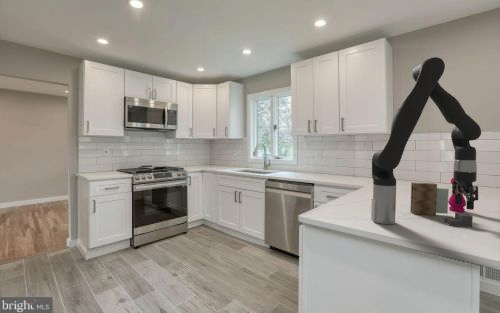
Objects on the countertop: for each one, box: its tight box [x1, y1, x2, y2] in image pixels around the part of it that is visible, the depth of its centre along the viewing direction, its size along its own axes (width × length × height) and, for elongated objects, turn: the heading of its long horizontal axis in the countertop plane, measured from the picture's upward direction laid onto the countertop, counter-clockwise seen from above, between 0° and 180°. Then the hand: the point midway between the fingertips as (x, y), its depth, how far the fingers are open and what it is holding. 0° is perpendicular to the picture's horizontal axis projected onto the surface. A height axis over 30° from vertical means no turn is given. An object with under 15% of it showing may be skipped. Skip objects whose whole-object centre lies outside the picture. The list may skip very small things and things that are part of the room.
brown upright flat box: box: [409, 181, 438, 216], centre depth 123 cm, size 10×4×16 cm, turn 75°
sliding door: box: [436, 187, 449, 215], centre depth 122 cm, size 12×1×12 cm, turn 75°
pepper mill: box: [448, 177, 467, 213], centre depth 128 cm, size 7×7×20 cm
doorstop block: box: [443, 212, 474, 228], centre depth 106 cm, size 8×5×5 cm, turn 74°
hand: (464, 206), depth 106 cm, fingers open, 8 cm apart
